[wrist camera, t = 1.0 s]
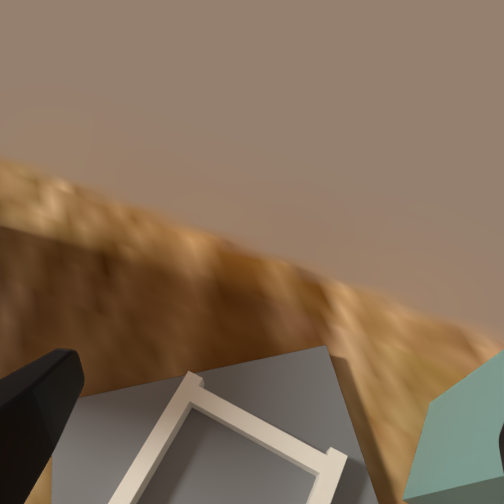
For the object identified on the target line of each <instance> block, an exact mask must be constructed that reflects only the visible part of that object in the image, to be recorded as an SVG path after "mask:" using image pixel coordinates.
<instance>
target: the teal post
mask: <svg viewBox="0 0 504 504" xmlns="http://www.w3.org/2000/svg"><path fill="white" fill-rule="evenodd" d="M503 423H504V350H502V351H501V352H499V353H498V354H497V355H495V356H494V357H493V358H491V359H490V360H488V361H487V362H486V363H484V364H483V365H481V366H480V367H479V368H477V369H476V370H475V371H473V372H472V373H470V374H469V375H468V376H466V377H465V378H464V379H462V380H461V381H459V382H458V383H457V384H455V385H454V386H453V387H451V388H450V389H448V390H447V391H446V392H444V393H443V394H441V395H440V396H439V397H437V398H436V399H435V400H433V401H432V402H430V405H429V408H428V412H427V415H426V419H425V422H424V426H423V429H422V433H421V436H420V440H419V443H418V447H417V450H416V454H415V457H414V460H413V464H412V467H411V471H410V474H409V478H408V481H407V485H406V488H405V492H404V495H403V499H402V500H403V501H405V502H407V503H409V504H504V473H503V468H502V462H501V456H500V451H499V434H500V431H501V429H502V426H503Z"/></svg>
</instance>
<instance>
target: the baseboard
mask: <svg viewBox="0 0 504 504" xmlns="http://www.w3.org/2000/svg"><path fill="white" fill-rule="evenodd" d="M51 504H378V501H377V498H376V495H375V492H374V489H373V486H372V483H371V480H370V477H369V473H368V470H367V467H366V464H365V461H364V458H363V455H362V452H361V449H360V446H359V443H358V440H357V437H356V434H355V431H354V428H353V425H352V422H351V419H350V416H349V413H348V410H347V407H346V404H345V401H344V398H343V395H342V392H341V389H340V386H339V383H338V380H337V377H336V374H335V371H334V368H333V365H332V362H331V359H330V355H329V352H328V349H327V346H326V345H324V346H319V347H315V348H310V349H305V350H301V351H296V352H291V353H287V354H282V355H277V356H273V357H268V358H263V359H259V360H254V361H249V362H244V363H240V364H235V365H230V366H226V367H221V368H216V369H212V370H207V371H202V372H198V373H192V372H190V371H188V372H187V374H186V375H184V376H179V377H174V378H170V379H165V380H160V381H156V382H151V383H146V384H142V385H137V386H132V387H127V388H123V389H118V390H113V391H109V392H104V393H99V394H95V395H90V396H85V397H81V398H78V400H77V402H76V404H75V406H74V408H73V411H72V413H71V415H70V417H69V420H68V422H67V424H66V426H65V428H64V431H63V433H62V435H61V437H60V440H59V442H58V444H57V446H56V448H55V450H54V452H53V453H52V494H51Z"/></svg>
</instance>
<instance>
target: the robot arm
mask: <svg viewBox="0 0 504 504" xmlns="http://www.w3.org/2000/svg"><path fill="white" fill-rule="evenodd" d="M83 385H84V373H83V369H82V366H81V362H80V359H79V355H78V353H77V352H76V351H75V350H72V349H64V348H58V349H55V350H53V351H51V352H50V353H48V354H46V355H44V356H42V357H40V358H39V359H37V360H35V361H33V362H31V363H30V364H28V365H26V366H24V367H22V368H20V369H19V370H17V371H15V372H13V373H11V374H9V375H8V376H6V377H4V378H2V379H0V504H24V503H25V501H26V499H27V497H28V496H29V494H30V492H31V490H32V489H33V487H34V485H35V484H36V482H37V480H38V478H39V477H40V475H41V473H42V471H43V470H44V468H45V466H46V464H47V463H48V461H49V459H50V457H51V455H52V453H53V452H54V450H55V448H56V446H57V444H58V442H59V440H60V437H61V435H62V433H63V431H64V428H65V426H66V424H67V422H68V420H69V417H70V415H71V413H72V411H73V408H74V406H75V404H76V402H77V400H78V397H79V395H80V393H81V391H82V388H83ZM499 451H500V456H501V462H502V468H503V473H504V423H503V426H502V429H501V431H500V434H499Z"/></svg>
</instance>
